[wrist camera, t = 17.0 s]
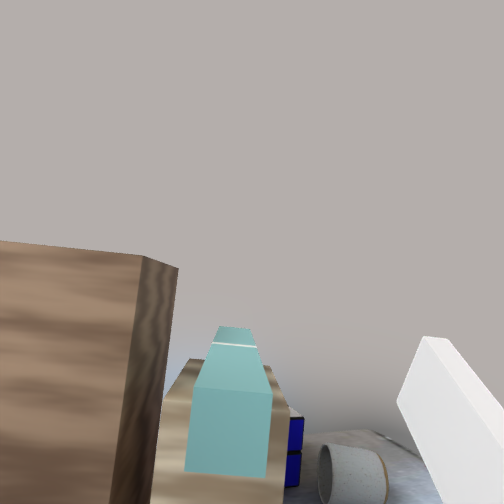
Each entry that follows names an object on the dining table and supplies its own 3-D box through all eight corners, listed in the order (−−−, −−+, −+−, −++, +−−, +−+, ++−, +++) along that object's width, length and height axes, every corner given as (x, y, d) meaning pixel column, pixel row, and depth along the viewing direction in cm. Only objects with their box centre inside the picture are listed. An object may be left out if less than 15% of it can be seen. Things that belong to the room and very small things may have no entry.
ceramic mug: (391, 524, 45) (394, 461, 46) (329, 521, 44) (333, 457, 45) (359, 480, 55) (361, 429, 56) (308, 477, 54) (312, 426, 55)
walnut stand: (94, 690, 24) (152, 255, 27) (-119, 679, 23) (-33, 236, 26) (158, 506, 43) (187, 269, 47) (45, 497, 43) (82, 258, 46)
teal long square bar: (266, 479, 17) (274, 393, 17) (182, 472, 17) (192, 385, 17) (247, 360, 45) (250, 328, 45) (215, 357, 45) (219, 325, 45)
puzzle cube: (236, 494, 48) (244, 419, 49) (217, 459, 57) (224, 396, 58) (300, 487, 51) (306, 417, 52) (272, 454, 61) (277, 395, 62)
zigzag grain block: (267, 683, 25) (290, 411, 27) (128, 675, 25) (162, 400, 27) (254, 529, 41) (269, 365, 43) (170, 523, 41) (189, 358, 43)
